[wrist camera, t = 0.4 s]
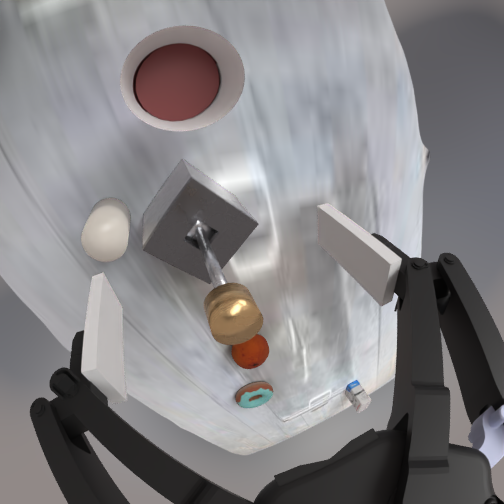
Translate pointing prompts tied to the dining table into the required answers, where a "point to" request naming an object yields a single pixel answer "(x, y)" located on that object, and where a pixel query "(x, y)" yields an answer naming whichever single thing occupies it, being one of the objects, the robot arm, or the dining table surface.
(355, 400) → the ink box
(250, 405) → the donut
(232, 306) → the gold knobbed rod
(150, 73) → the wineglass
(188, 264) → the grey block with hole
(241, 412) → the dining table surface
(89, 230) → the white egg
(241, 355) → the fruit
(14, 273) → the dining table surface
